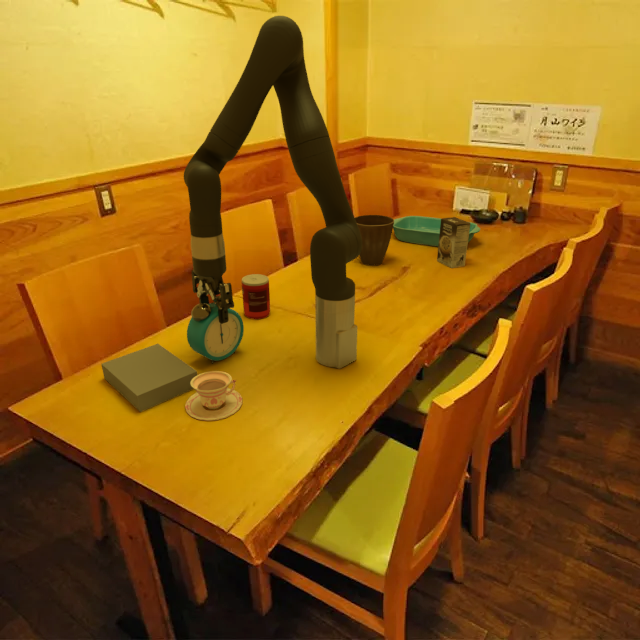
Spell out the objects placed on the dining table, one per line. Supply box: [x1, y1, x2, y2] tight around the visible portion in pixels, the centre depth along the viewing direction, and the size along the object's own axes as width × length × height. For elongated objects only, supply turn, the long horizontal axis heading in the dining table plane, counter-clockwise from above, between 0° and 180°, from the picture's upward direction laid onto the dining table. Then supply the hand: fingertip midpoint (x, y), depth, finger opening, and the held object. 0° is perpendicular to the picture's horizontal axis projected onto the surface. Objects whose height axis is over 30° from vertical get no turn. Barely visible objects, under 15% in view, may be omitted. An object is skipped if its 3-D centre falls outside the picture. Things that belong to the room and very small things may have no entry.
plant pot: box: [354, 214, 395, 267], centre depth 188 cm, size 15×15×16 cm
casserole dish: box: [392, 215, 481, 248], centre depth 215 cm, size 37×22×7 cm, turn 61°
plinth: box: [100, 343, 198, 413], centre depth 117 cm, size 18×14×4 cm
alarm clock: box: [186, 299, 245, 365], centre depth 126 cm, size 13×6×15 cm, turn 138°
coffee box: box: [436, 216, 470, 269], centre depth 187 cm, size 9×6×16 cm
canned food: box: [241, 273, 271, 320], centre depth 149 cm, size 8×8×11 cm
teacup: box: [184, 370, 243, 422], centre depth 109 cm, size 12×12×6 cm
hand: (214, 316), depth 125 cm, fingers open, 8 cm apart
